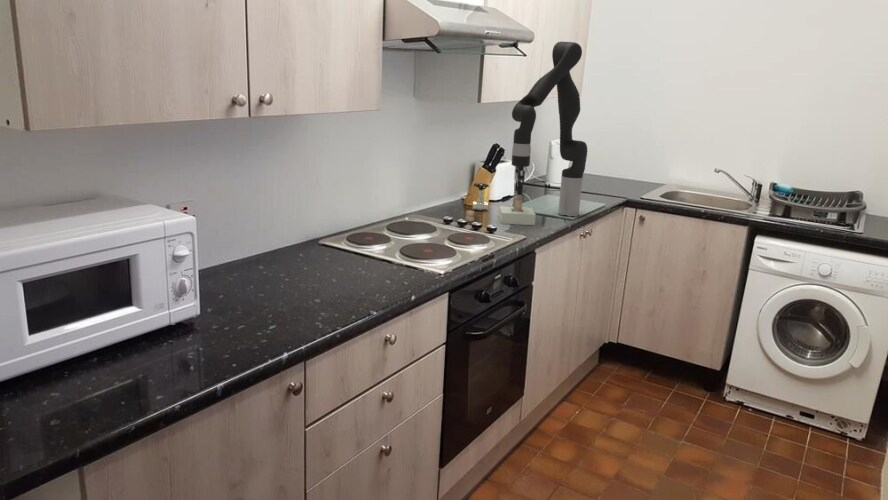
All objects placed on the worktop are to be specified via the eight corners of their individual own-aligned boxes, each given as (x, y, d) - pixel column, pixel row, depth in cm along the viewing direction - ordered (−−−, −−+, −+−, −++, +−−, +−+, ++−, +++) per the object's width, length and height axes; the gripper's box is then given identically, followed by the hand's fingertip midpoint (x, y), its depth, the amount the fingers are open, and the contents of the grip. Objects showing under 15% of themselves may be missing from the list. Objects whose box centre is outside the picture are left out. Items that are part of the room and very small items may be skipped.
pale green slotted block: (499, 216, 283) (499, 206, 282) (531, 218, 283) (532, 207, 281) (501, 223, 269) (501, 212, 268) (534, 225, 269) (535, 214, 268)
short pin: (465, 219, 274) (465, 210, 273) (473, 219, 274) (474, 210, 273) (465, 221, 271) (466, 211, 269) (473, 221, 271) (474, 212, 269)
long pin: (512, 219, 277) (513, 196, 275) (520, 220, 277) (522, 197, 275) (512, 221, 274) (514, 198, 272) (521, 221, 274) (522, 198, 271)
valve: (487, 212, 290) (489, 185, 287) (472, 211, 290) (474, 185, 287) (486, 209, 297) (488, 183, 294) (472, 208, 297) (473, 182, 293)
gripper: (532, 156, 262) (529, 196, 266) (528, 152, 275) (526, 190, 280) (513, 156, 262) (511, 195, 266) (510, 151, 276) (508, 189, 280)
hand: (518, 192), depth 273 cm, fingers open, 8 cm apart
